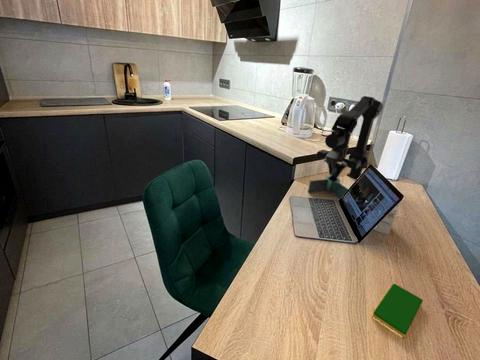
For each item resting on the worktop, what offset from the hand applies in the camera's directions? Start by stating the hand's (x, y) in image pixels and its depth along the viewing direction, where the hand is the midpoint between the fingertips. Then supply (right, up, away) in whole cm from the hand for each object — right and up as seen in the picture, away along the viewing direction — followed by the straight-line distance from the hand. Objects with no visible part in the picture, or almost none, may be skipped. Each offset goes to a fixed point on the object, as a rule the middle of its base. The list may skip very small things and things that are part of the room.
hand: (333, 176), depth 121 cm
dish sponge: (-4, -35, -56) cm, 66 cm away
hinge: (-2, -8, -1) cm, 9 cm away
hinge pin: (0, -1, +1) cm, 2 cm away
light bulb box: (+7, -19, -22) cm, 30 cm away
